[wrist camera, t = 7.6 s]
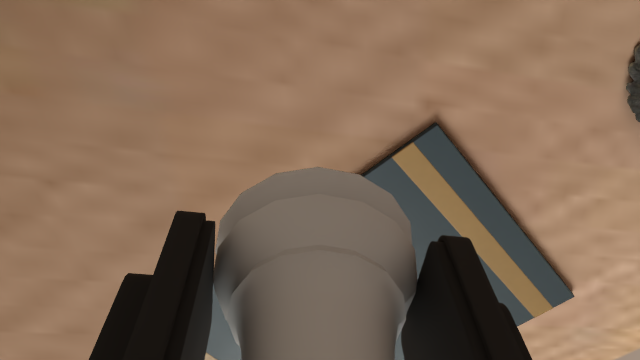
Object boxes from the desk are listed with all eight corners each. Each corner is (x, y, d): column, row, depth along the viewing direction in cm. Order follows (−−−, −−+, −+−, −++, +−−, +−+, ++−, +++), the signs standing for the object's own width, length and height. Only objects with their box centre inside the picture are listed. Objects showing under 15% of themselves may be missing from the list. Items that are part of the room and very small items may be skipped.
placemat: (435, 122, 22) (437, 124, 22) (572, 292, 28) (574, 297, 28) (132, 337, 29) (130, 341, 29) (293, 438, 35) (293, 443, 35)
